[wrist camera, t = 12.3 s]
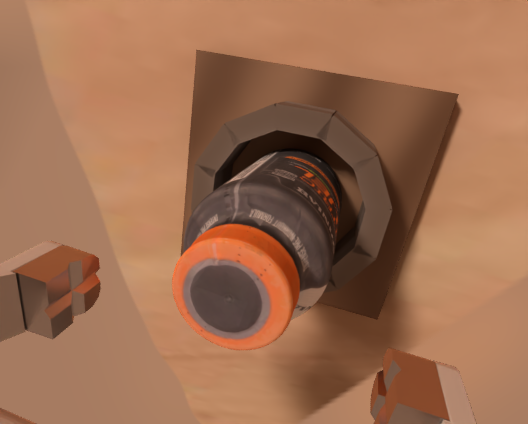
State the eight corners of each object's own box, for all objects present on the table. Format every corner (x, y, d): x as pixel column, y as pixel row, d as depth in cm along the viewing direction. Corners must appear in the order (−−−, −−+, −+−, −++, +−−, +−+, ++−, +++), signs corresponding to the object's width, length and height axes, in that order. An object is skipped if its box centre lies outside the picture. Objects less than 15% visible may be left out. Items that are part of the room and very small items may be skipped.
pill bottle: (362, 210, 20) (367, 342, 10) (281, 255, 22) (216, 401, 12) (304, 125, 19) (242, 169, 9) (227, 181, 21) (106, 268, 11)
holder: (453, 93, 18) (478, 95, 14) (376, 310, 23) (380, 352, 19) (204, 51, 20) (170, 43, 16) (186, 256, 25) (158, 284, 22)
